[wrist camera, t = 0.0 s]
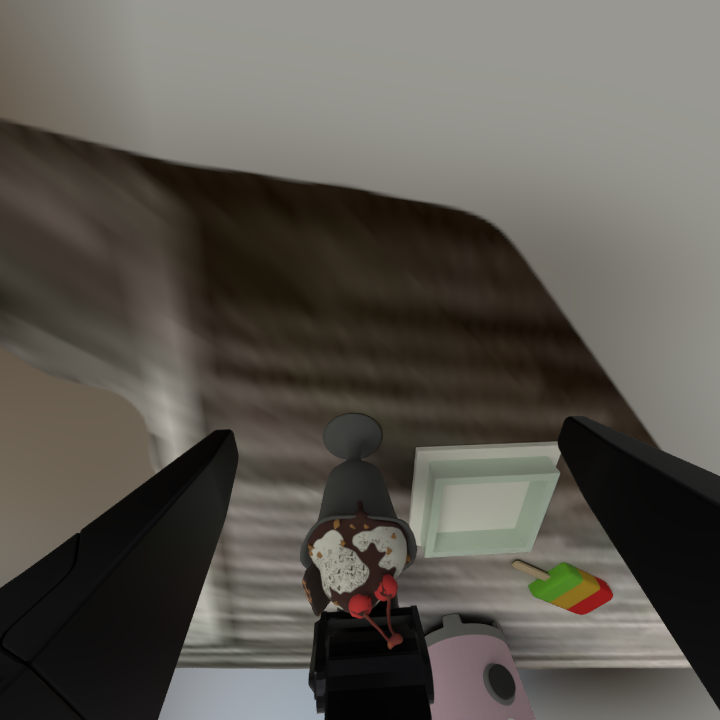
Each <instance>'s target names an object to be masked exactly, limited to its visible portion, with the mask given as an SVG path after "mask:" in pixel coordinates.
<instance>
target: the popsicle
mask: <svg viewBox="0 0 720 720" xmlns="http://www.w3.org/2000/svg"><path fill="white" fill-rule="evenodd" d="M512 565H513V567H514V568H516V569H518V570H520V571H523V572H525V573H527V574H530V575H532V576H534V577H536V578H539V579H537V580H536V581H534V582H533V583H531V584H530V585H528V586H529V589H530V591H531V593H532V595H533V596H534V597H536V598H539V599H541V600H544V601H546V602H549V603H551V604H554V605H556V606H559V607H561V608H564V609H566V610H568V611H571V612H573V613H576V614H580V615H583V614H587V613H589V612H591V611H593V610H594V609H596V608H598V607H600V606H601V605H603V604H605V603H606V602H608V601H610V600H611V599H612V597H613V593H612V591H611V589H610V588H609V586H608V585H607V583H606V582H604V581H603V580H601V579H599V578H596V577H594V576H592V575H590V574H588V573H586V572H584V571H582V570H580V569H578V568H576V567H573V566H571V565H569V564H567V563H565V562H564V563H561V564H559V565H558V566H556V567H555V568H554V569H552V570H551V571H549V572H548V573H545V572H543V571H541V570H538V569H536V568H534V567H532V566H529V565H527V564H525V563H523V562H521V561H515V562H514V563H512Z"/></svg>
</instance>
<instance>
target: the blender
mask: <svg viewBox="0 0 720 720" xmlns="http://www.w3.org/2000/svg"><path fill="white" fill-rule="evenodd" d="M442 619H443V628H441V629H439V630H436V631H434V632H432V633H430V634H428V635H427V636H425V640H426V644H427V648H428V652H429V657H430V662H431V668H432V674H433V683H434V704H431V705H430V709H431V715H432V720H535V717H534V714H533V711H532V709H531V706H530V703H529V701H528V698H527V695H526V693H525V690H524V687H523V685H522V682H521V679H520V677H519V674H518V672H517V669H516V666H515V664H514V661H513V659H512V656H511V653H510V651H509V647H508V644H507V641H506V639H505V636H504V634H503V632H502V630H501V627H500V625H499V624H498V622H497V621H494V622H492V625H493V627H492V626H489V625H485V624H475V623H469V624H463V623H462V622H461V619H460V617H459V614H450V615H446V616H443V617H442Z"/></svg>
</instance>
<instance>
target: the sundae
mask: <svg viewBox="0 0 720 720" xmlns="http://www.w3.org/2000/svg"><path fill="white" fill-rule="evenodd" d="M381 439H382V432H381V429H380V426H379V425H378V424H377V422H375V421H374V420H373V419H372V418H370V417H368V416H365V415H363V414H353V413H350V414H345V415H342V416H339V417H337V418H335V419H334V420H332V421H331V422H330V423H329V424H328V426H327V427H326V429H325V431H324V435H323V440H324V443H325V446H326V448H327V449H328V450H329V451H330V452H331V453H332V454H333V455H335V456H337V457H339V458H343V459H347V461H345V462H343V463H342V464H340V465H338V466H337V467H335V468H334V469H333V470H332V472H331V473H330V475H329V478H328V481H327V484H326V487H325V490H324V494H323V499H322V504H321V509H320V514H319V518H318V521H317V522H316V524H315V525H314V526H313V527H312V528H311V529H310V531H309V533H308V534H307V536H306V538H305V540H304V542H303V544H302V546H301V552H300V561H301V562H302V564H303V566H304V567H305V568H306V569H307V570H306V571H305V574H304V577H303V580H302V584H303V587H304V590H305V593H306V596H307V598H308V601H309V603H310V604H311V606H312V609H313V612H314V614H315V615H316V616H320V614H321V613H322V612H323V611H324V609H325V608H326V607H327V605H328V604H329V603H330V601H332V603H333V604H334V605H335V606H337V607H338V608H340V609H341V610H343V611H345V612H347V613H351V615H352V616H353V617H356V618H360V619H361V618H366V619H367V620H368V621H369V622H370V623H371V624H372V625H373V626H374V627H375V628H376V629H377V630H378V631H379V632H380V633H381V634H382V635H383V637H384V638H385V639H386V640H387V642H388V647H389V649H392V648H393V647H394V646H395V645H397V644H400V643H402V641H403V638H402V636H401V635H400V634H399V633H395V632H394V631H393V629H392V626H391V619H390V608H391V598H393V597H394V596H395V595H396V592H397V588H398V585H397V582H396V580H395V579H396V578H397V577H398V576H399V575H400V573H401V571H403V570H404V569H406V568H408V567H409V566H410V565H411V564H412V563H413V561H414V559H415V557H416V553H417V545H416V540H415V536H414V533H413V531H412V530H411V528H410V526H409V525H408V524H407V523H406V522H405V521H403V520H401V519H398V518H397V516H396V514H395V512H394V509H393V505H392V502H391V499H390V496H389V493H388V490H387V486H386V484H385V482H384V479H383V477H382V475H381V473H380V471H379V470H378V469H377V468H376V467H375V466H374V465H372V464H370V463H368V462H365V461H362V460H361V458H365V457H367V456H369V455H371V454H372V453H373V452H375V450H376V449H377V448H378V446H379V445H380V443H381ZM380 600H381V601H386V600H387V621H388V626H389V629H390V631H391V633H392V636H391V638H390V639H389V638H388V637H387V636H386V635H385V634H384V632H383V631H382V629H381V628H380V627H379V626H378V625H377V624H376V623H375V622H374V621H373V620H372V619H371V618H370V617H369V614H370V612H371V609H373V608H374V607H375V606H376V605H377V603H378V602H379V601H380Z"/></svg>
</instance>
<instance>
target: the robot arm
mask: <svg viewBox="0 0 720 720" xmlns="http://www.w3.org/2000/svg"><path fill="white" fill-rule="evenodd" d="M558 448H559V450H560V452H561V454H562V456H563V458H564V460H565V462H566V464H567V466H568V468H569V470H570V472H571V474H572V476H573V477H574V479H575V481H576V483H577V485H578V487H579V489H580V491H581V493H582V495H583V497H584V498H585V500H586V502H587V503H588V505H589V507H590V508H591V510H592V512H593V513H594V515H595V516H596V518H597V519H598V521H599V522H600V524H601V526H602V527H603V529H604V530H605V532H606V533H607V535H608V537H609V538H610V540H611V541H612V543H613V544H614V546H615V547H616V549H617V551H618V552H619V554H620V555H621V557H622V558H623V560H624V562H625V563H626V565H627V566H628V568H629V569H630V571H631V572H632V574H633V576H634V577H635V579H636V580H637V582H638V583H639V585H640V587H641V588H642V590H643V591H644V593H645V594H646V596H647V597H648V599H649V601H650V602H651V604H652V605H653V607H654V608H655V610H656V612H657V613H658V615H659V616H660V618H661V619H662V621H663V622H664V624H665V626H666V627H667V629H668V630H669V632H670V633H671V635H672V637H673V638H674V640H675V641H676V643H677V644H678V646H679V647H680V649H681V651H682V652H683V654H684V655H685V657H686V658H687V660H688V662H689V663H690V665H691V666H692V668H693V669H694V671H695V672H696V674H697V676H698V677H699V679H700V680H701V682H702V683H703V685H704V686H705V688H706V689H707V691H708V693H709V694H710V696H711V697H712V699H713V700H714V702H715V704H716V705H717V707H718V708H719V710H720V476H718V475H716V474H714V473H712V472H709V471H707V470H705V469H703V468H700V467H698V466H696V465H693V464H691V463H689V462H687V461H684V460H682V459H680V458H677V457H675V456H672V455H670V454H668V453H666V452H664V451H662V450H659V449H657V448H655V447H653V446H650V445H648V444H646V443H643V442H641V441H639V440H637V439H634V438H632V437H630V436H627V435H625V434H623V433H621V432H618V431H616V430H614V429H612V428H609V427H607V426H605V425H602V424H600V423H598V422H596V421H593V420H591V419H589V418H587V417H584V416H571V417H567V418H566V419H565V421H564V423H563V426H562V429H561V432H560V434H559V437H558ZM237 465H238V450H237V446H236V442H235V437H234V433H233V431H232V430H230V429H226V430H215V431H213V432H212V433H211V434H209V435H208V436H207V437H205V438H204V439H203V440H201V441H200V442H198V443H197V444H196V445H194V446H193V447H192V448H190V449H189V450H188V451H186V452H185V453H184V454H182V455H181V456H180V457H178V458H177V459H176V460H174V461H173V462H172V463H170V464H169V465H168V466H166V467H165V468H164V469H162V470H161V471H160V472H158V473H157V474H156V475H154V476H153V477H152V478H150V479H149V480H148V481H146V482H145V483H143V484H142V485H141V486H139V487H138V488H137V489H135V490H134V491H133V492H132V493H130V494H129V495H127V496H126V497H125V498H123V499H122V500H121V501H119V502H118V503H117V504H115V505H114V506H113V507H111V508H110V509H109V510H107V511H106V512H105V513H104V514H102V515H100V516H99V517H98V518H97V519H95V520H94V521H93V522H91V523H90V524H88V525H87V526H86V527H84V528H83V529H82V530H81V532H80V533H76V534H75V535H73V536H72V537H71V538H70V539H68V540H67V541H66V542H64V543H63V544H61V545H60V546H59V547H57V548H56V549H55V550H53V551H52V552H51V553H49V554H48V555H46V556H45V557H44V558H42V559H41V560H39V561H38V562H37V563H35V564H34V565H33V566H31V567H30V568H28V569H27V570H26V571H24V572H23V573H21V574H20V575H19V576H17V577H15V578H14V579H13V580H11V581H10V582H8V583H7V584H5V585H4V586H2V587H1V588H0V720H158V718H159V715H160V711H161V708H162V706H163V703H164V700H165V697H166V694H167V691H168V688H169V685H170V682H171V679H172V676H173V673H174V670H175V667H176V664H177V661H178V658H179V655H180V652H181V650H182V647H183V644H184V641H185V638H186V635H187V632H188V629H189V626H190V623H191V620H192V617H193V614H194V611H195V608H196V605H197V602H198V599H199V596H200V593H201V590H202V587H203V584H204V581H205V578H206V575H207V573H208V570H209V567H210V564H211V561H212V558H213V555H214V552H215V549H216V546H217V543H218V540H219V537H220V534H221V531H222V528H223V525H224V522H225V518H226V515H227V510H228V506H229V501H230V497H231V492H232V488H233V483H234V478H235V474H236V469H237ZM369 617H370V618H371V619H372V620H373V621H374V622H375V623H376V624H377V625H378V626H379V627H380V628H381V629H382V631H383V632H384V634H385V635H386V636H387V637H388V638H389V639H390V638H391V636H392V633H391V631H390V629H389V626H388V621H387V600H386V601H381V600H380V601H379V602H378V603H377V605H376V606H375V607H374V608H373V609H371V612H370V614H369ZM390 619H391V626H392V629H393V631H394V632H395V633H399V634H400V635H401V636H402V638H403V641H402V643H400V644H397V645H395V646H394V647H393V648H392V649H389V647H388V642H387V640H386V639H385V638H384V637H383V635H382V634H381V633H380V632H379V631H378V630H377V629H376V628H375V627H374V626H373V625H372V624H371V623H370V622H369V621H368V620H367V619H366V618H361V619H360V618H356V617H353V616H352V615H351V613H347V612H345V611H343V610H341V609H340V608H338V607H337V612H327V611H323V612H322V613H321V619H320V620H319V621H317V622H316V623H315V625H314V641H313V650H312V657H311V664H310V671H309V686H310V688H311V689H312V691H313V692H314V698H315V700H316V707H317V713H325V720H432V715H431V709H430V705H431V704H434V683H433V674H432V668H431V662H430V657H429V652H428V648H427V644H426V640H425V637H424V633H423V629H422V625H421V621H420V617H419V613H418V609H417V606H416V605H414V606H410V607H402V608H399V605H398V598H397V592H396V595H395V596H394V597H393V598H391V608H390Z"/></svg>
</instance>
